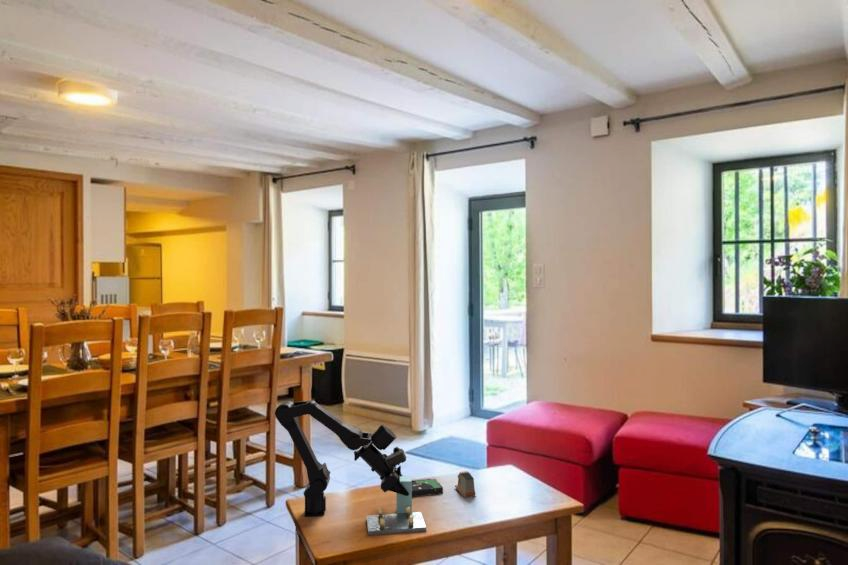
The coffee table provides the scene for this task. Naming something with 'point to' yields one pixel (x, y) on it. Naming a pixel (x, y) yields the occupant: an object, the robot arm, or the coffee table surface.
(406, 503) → the teal block
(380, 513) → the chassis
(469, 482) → the electronic device
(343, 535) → the coffee table surface
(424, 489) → the disk drive
